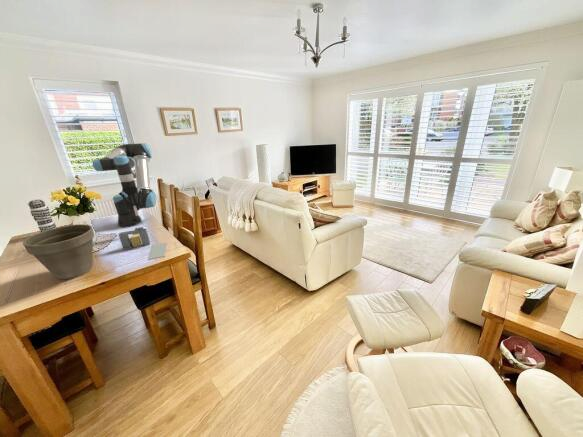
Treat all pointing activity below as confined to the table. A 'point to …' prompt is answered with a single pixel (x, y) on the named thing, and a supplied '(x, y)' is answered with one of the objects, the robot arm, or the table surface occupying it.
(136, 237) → the two-tone upright block
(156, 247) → the mat
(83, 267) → the plant pot
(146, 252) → the table surface
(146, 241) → the frame
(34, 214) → the decorative candle
